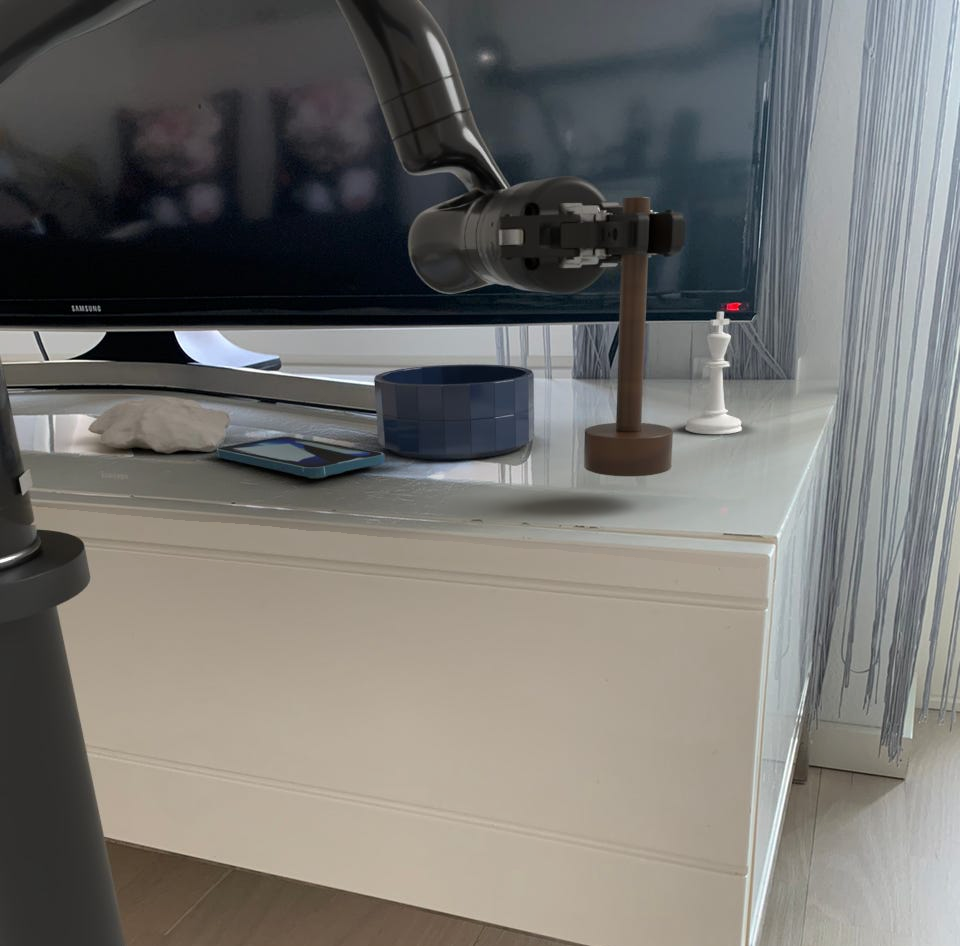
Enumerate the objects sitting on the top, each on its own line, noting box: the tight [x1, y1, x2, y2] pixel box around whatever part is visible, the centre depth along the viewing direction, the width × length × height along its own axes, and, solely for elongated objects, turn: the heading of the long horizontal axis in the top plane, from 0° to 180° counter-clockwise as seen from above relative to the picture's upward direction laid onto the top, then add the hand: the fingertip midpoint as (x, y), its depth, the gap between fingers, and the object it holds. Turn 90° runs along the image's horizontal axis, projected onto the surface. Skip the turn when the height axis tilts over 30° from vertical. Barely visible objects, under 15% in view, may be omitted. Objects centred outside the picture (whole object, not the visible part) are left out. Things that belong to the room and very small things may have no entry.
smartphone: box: [215, 436, 386, 480], centre depth 79 cm, size 7×1×15 cm
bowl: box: [373, 363, 535, 461], centre depth 83 cm, size 13×13×6 cm
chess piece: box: [684, 311, 743, 435], centre depth 86 cm, size 5×5×10 cm
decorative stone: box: [88, 396, 231, 454], centre depth 89 cm, size 11×4×15 cm
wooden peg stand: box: [583, 196, 674, 477], centre depth 61 cm, size 6×6×16 cm
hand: (660, 233), depth 56 cm, fingers closed on wooden peg stand
